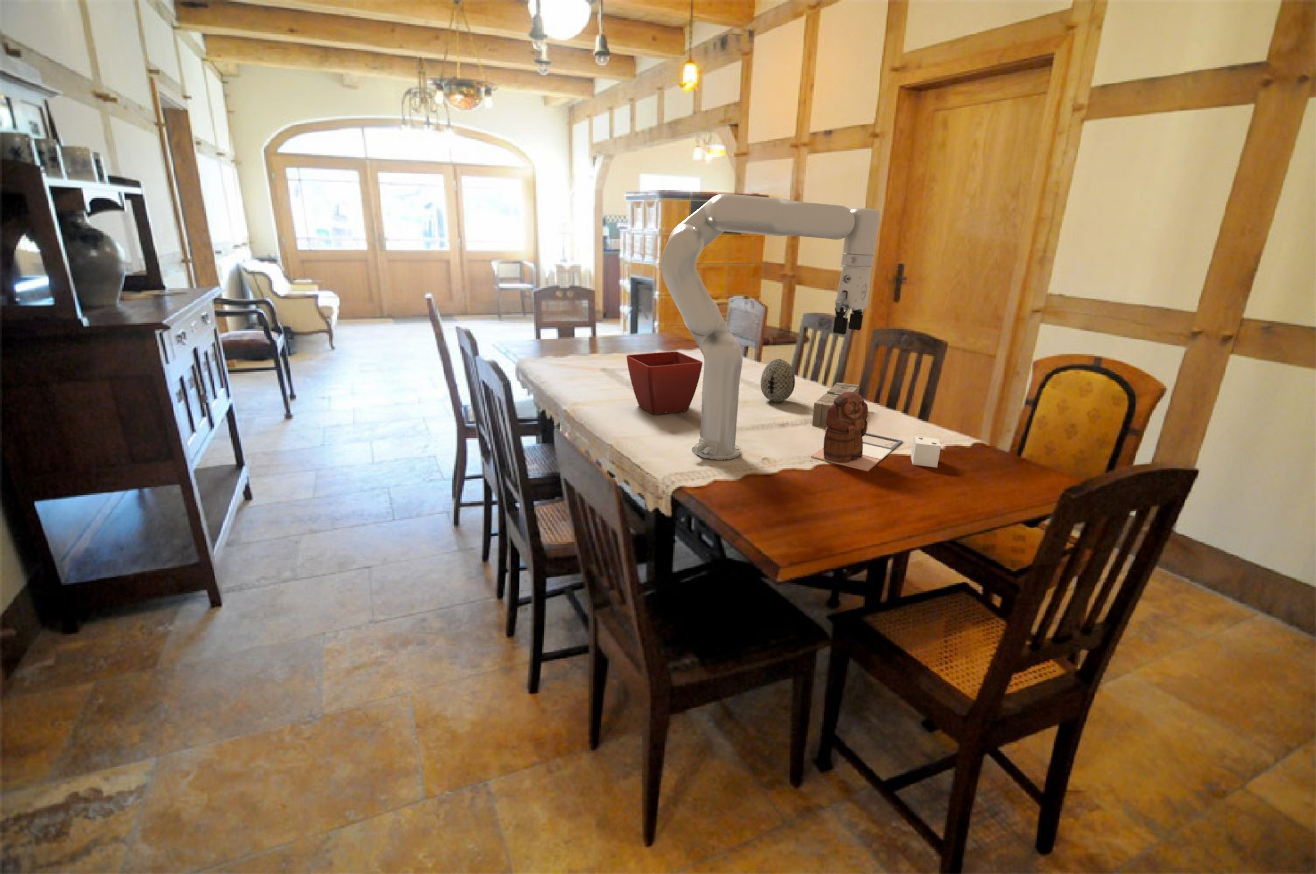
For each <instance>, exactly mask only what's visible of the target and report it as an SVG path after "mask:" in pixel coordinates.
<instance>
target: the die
mask: <svg viewBox="0 0 1316 874" xmlns="http://www.w3.org/2000/svg"><path fill="white" fill-rule="evenodd" d="M941 448H942V446H941V443H940V441H939V438H933V437H924V436H917V435H916V436H915V435H914V436H913V442H912V448H911V452H910V453H911V454H910V459H911V464H912V465H913V466H923V467H931V468H938V463H939V459H940V453H941Z"/></svg>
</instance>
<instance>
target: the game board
mask: <svg viewBox="0 0 1316 874" xmlns="http://www.w3.org/2000/svg"><path fill="white" fill-rule="evenodd" d="M864 436H869V437H872V438H873V437H874V438H877V439H878V438H879V439H883V440H887V441H892V442H896V443H895V444H894V445H892V446H891V447H888V446H884V445H879V444H876V443H875V444H874V443H871V442H866V441H863V454H862V457H857V460H853V461H849V462H847V463H839V462H833V461H829V460H826V459H824V447H822V448H821V449H820V450H818V451H816V452H814V454H812V455H810V457H811V458H813V459H816V460H821V461H824V462H828V463H832V464H836V465H841V466H843V467H844V466H845V467H849V468H853V469H857V470H860V471H864V472H869V471H871V469H873V467H875V466H876V465H878V463H880V462H881V461H882V460H883V459H884V458H886V456H888V455H889V454H891V452H892V451H894V450H895V449H896V448H897V447H898V446H900V445H901V444H902V443H903V441H904V440H902V439H901V440H900V439H897V438H892V437H887V436H882V435H878V434H874V433H869V432H866V434H865V435H864Z"/></svg>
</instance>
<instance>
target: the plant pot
mask: <svg viewBox="0 0 1316 874" xmlns="http://www.w3.org/2000/svg"><path fill="white" fill-rule="evenodd" d="M703 362H704V361H701V360H699V359H697V358H694V357H692V356H690V355H687V354H685V353H682V352H679V351H662V352H661V351H660V352H648V353H636V354H626V363H627V368H628V369H627V370H628V373H629V379H630V382H631V387H632V390H633V393H634V396H635V398H636V403H637V404H638V406H639V407H641V408H642V409H644V410H645V411H647V412H649V413H650V414H652V415H662V414H672V413H680V412H687V411H689V409H690V406H691V404H692V401H693V399H694V397H695V393H696V390H697V387H698V384H699V381H700V378H701V377H700V376H701V374H702V373H701V372H702V368H703V364H704V363H703Z"/></svg>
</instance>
